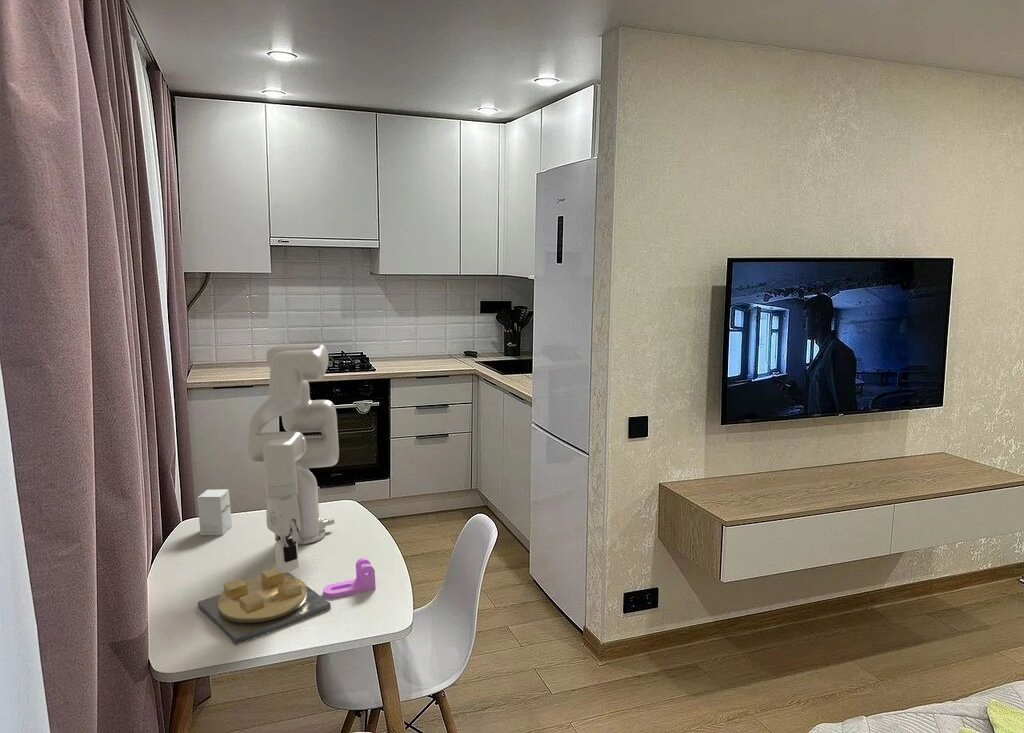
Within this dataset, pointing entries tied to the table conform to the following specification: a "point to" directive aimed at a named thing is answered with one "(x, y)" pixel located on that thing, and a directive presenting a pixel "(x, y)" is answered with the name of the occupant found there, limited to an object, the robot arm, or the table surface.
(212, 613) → the dark grey square slab
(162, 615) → the table surface
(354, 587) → the bracket
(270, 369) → the robot arm
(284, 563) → the eye dropper bottle
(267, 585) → the plate with cheese cubes
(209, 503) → the supplement box
